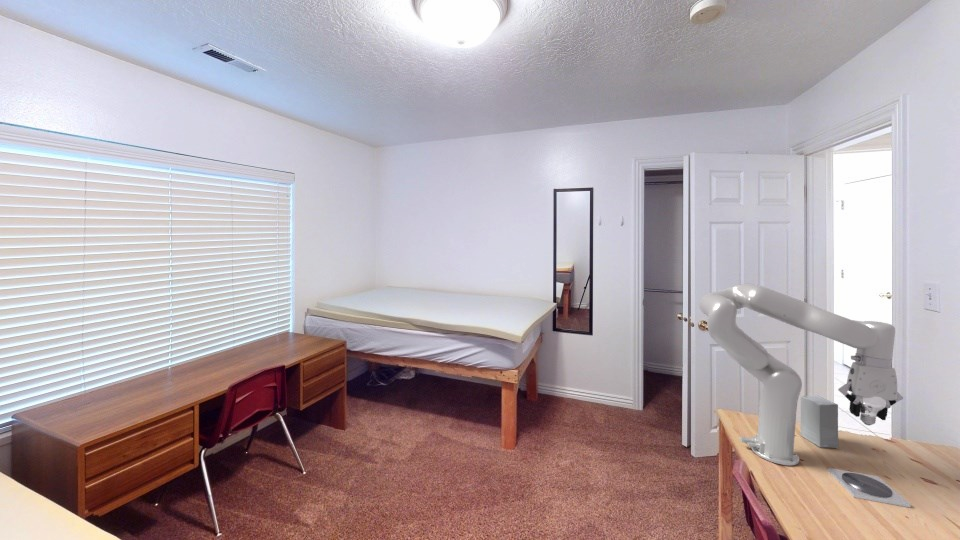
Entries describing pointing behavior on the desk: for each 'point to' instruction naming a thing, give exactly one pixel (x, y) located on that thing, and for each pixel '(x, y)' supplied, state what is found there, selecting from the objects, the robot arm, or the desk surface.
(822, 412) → the skincare box
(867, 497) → the duct plate
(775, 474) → the desk surface
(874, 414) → the light bulb
